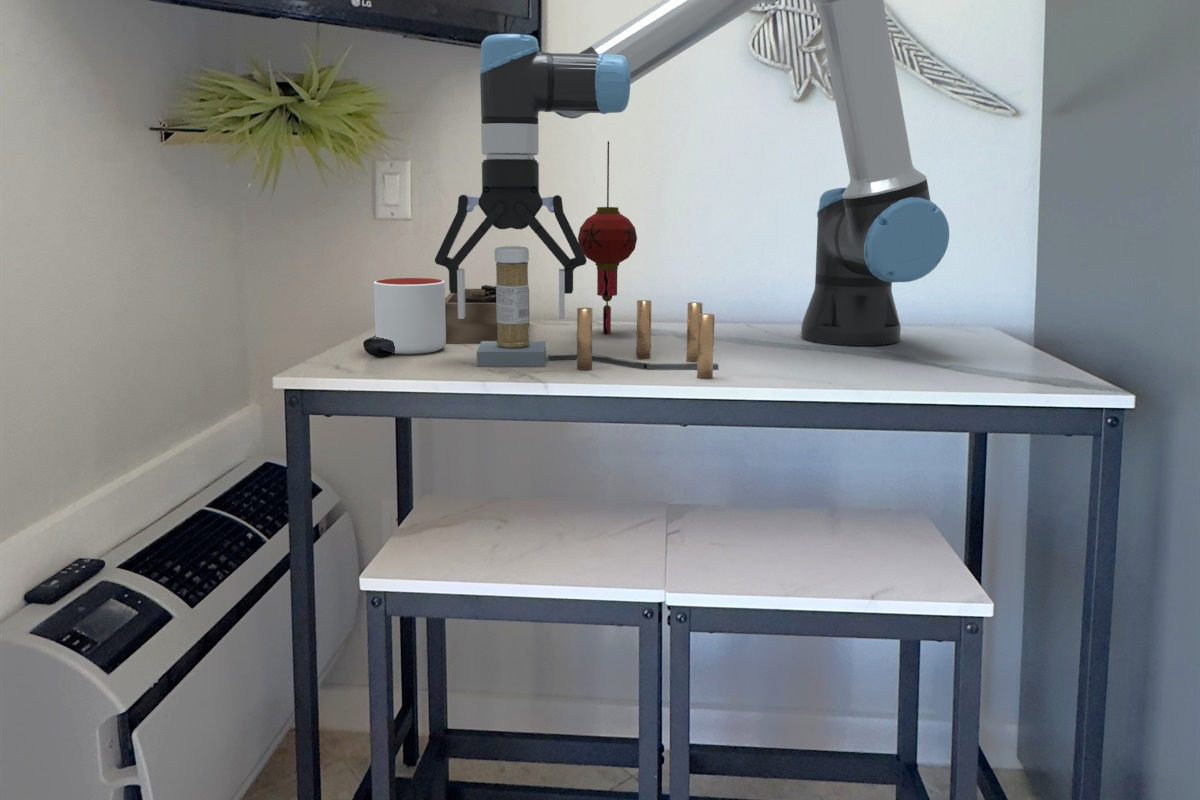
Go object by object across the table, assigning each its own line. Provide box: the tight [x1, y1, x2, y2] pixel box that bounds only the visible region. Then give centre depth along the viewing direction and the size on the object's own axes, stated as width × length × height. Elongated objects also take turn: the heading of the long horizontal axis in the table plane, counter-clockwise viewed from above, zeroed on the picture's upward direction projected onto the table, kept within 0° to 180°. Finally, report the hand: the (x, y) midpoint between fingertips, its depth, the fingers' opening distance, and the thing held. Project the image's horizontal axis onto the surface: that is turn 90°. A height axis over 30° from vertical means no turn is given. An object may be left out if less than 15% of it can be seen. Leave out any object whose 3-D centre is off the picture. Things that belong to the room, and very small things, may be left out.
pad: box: [476, 340, 547, 368], centre depth 150 cm, size 9×9×2 cm
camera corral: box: [445, 288, 530, 344], centre depth 174 cm, size 13×21×6 cm, turn 2°
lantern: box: [577, 140, 638, 335], centre depth 172 cm, size 10×10×30 cm
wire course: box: [547, 299, 719, 380], centre depth 145 cm, size 23×16×8 cm
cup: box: [373, 277, 447, 355], centre depth 157 cm, size 10×10×10 cm
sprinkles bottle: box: [494, 245, 530, 348], centre depth 148 cm, size 5×5×13 cm
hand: (511, 317), depth 149 cm, fingers open, 13 cm apart
